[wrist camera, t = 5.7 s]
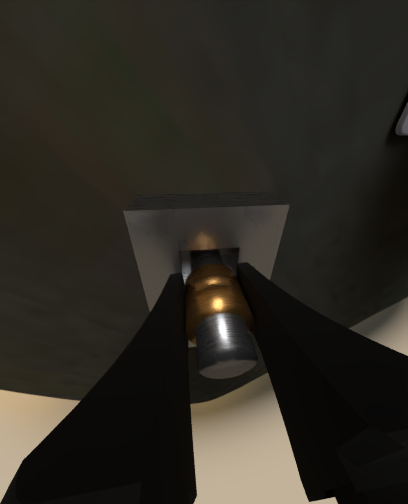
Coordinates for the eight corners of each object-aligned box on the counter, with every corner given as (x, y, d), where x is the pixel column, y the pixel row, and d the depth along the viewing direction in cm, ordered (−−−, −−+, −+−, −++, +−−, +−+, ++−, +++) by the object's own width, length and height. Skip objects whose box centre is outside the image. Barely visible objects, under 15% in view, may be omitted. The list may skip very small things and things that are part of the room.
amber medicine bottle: (233, 246, 12) (284, 347, 6) (215, 277, 13) (242, 384, 7) (193, 232, 11) (207, 336, 5) (178, 268, 12) (175, 381, 6)
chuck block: (264, 191, 11) (289, 204, 8) (248, 283, 15) (261, 311, 13) (138, 195, 10) (123, 210, 8) (157, 291, 14) (152, 321, 12)
